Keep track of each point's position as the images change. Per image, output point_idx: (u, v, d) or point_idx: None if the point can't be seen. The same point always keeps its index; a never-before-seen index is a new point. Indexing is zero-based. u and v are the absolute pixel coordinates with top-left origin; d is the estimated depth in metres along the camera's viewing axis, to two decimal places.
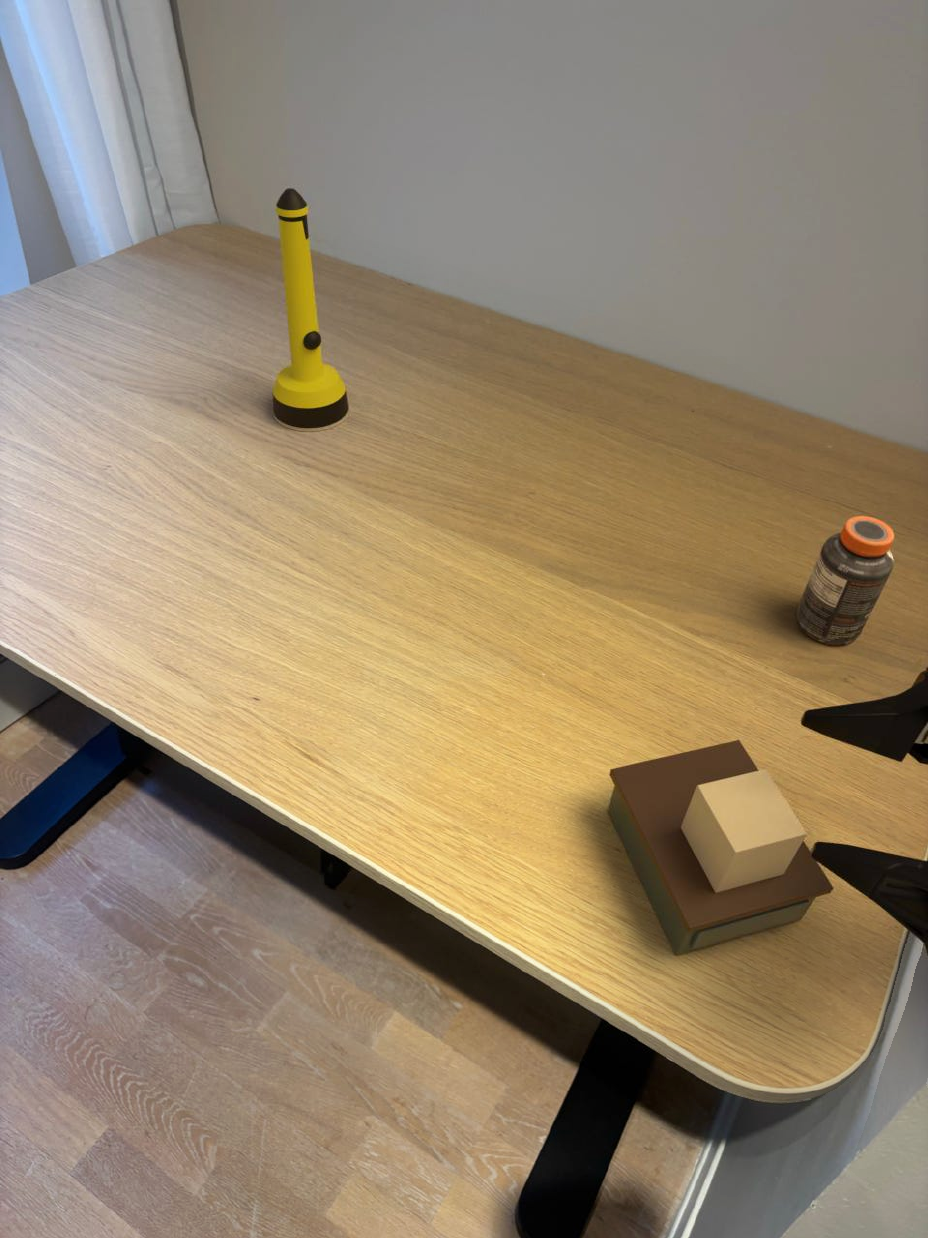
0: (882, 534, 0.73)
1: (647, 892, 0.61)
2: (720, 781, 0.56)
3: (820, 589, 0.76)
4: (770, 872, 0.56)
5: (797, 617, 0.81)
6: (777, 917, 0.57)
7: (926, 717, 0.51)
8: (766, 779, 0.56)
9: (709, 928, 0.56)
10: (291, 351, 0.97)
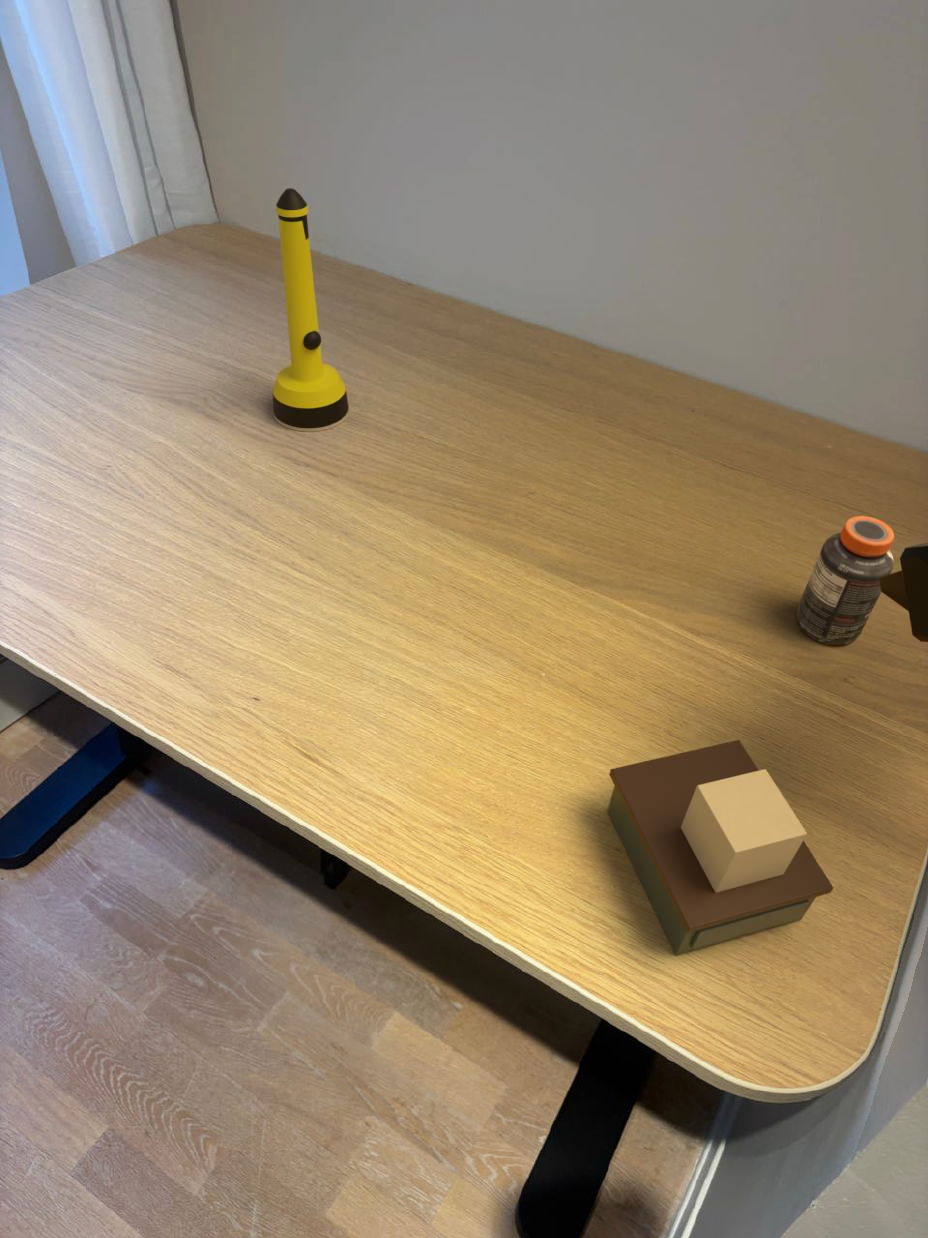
0: (882, 534, 0.73)
1: (647, 892, 0.61)
2: (720, 781, 0.56)
3: (820, 589, 0.76)
4: (770, 872, 0.56)
5: (797, 617, 0.81)
6: (777, 917, 0.57)
7: None
8: (766, 779, 0.56)
9: (709, 928, 0.56)
10: (291, 351, 0.97)
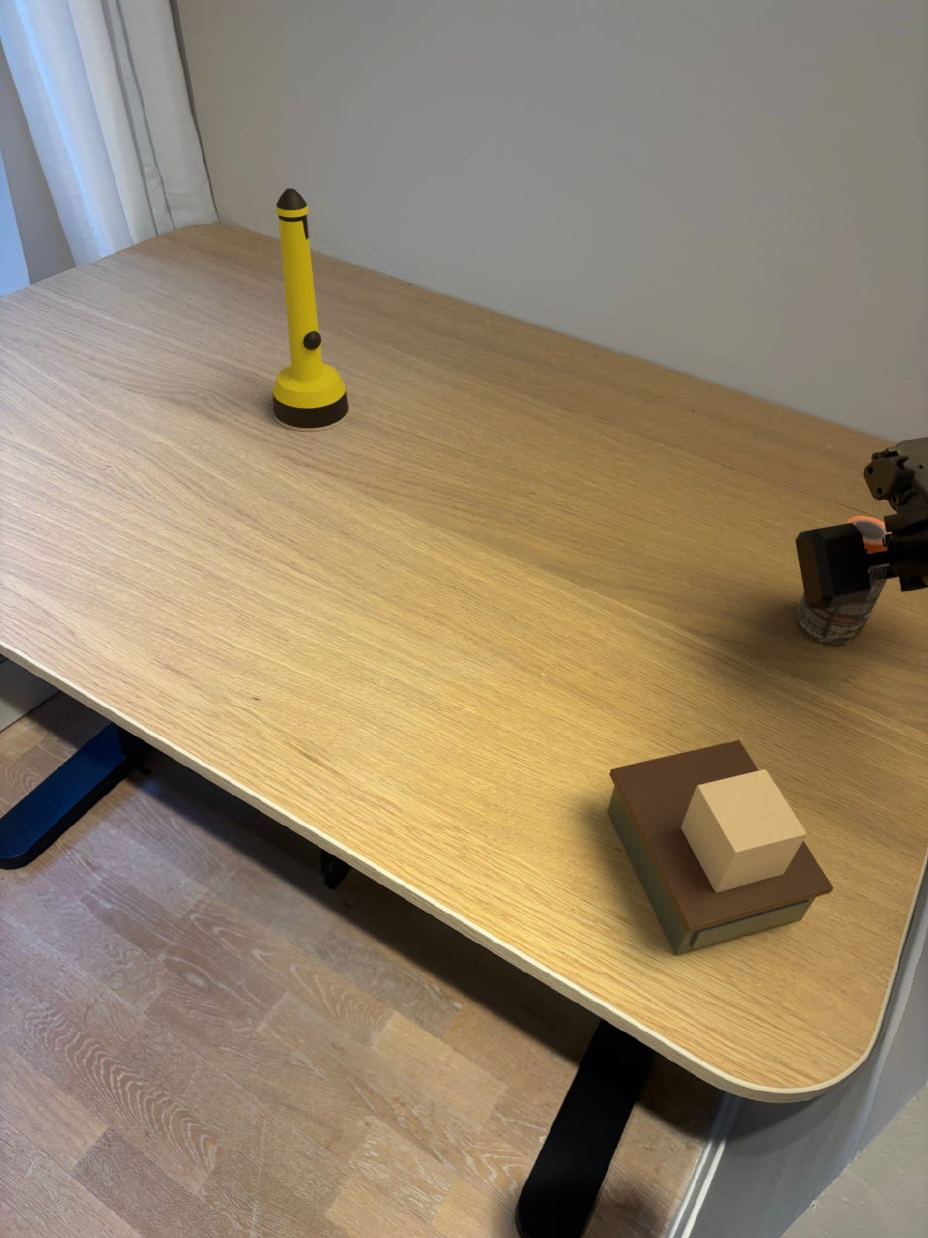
0: (882, 534, 0.73)
1: (647, 892, 0.61)
2: (720, 781, 0.56)
3: None
4: (770, 872, 0.56)
5: (797, 617, 0.81)
6: (777, 917, 0.57)
7: None
8: (766, 779, 0.56)
9: (709, 928, 0.56)
10: (291, 351, 0.97)
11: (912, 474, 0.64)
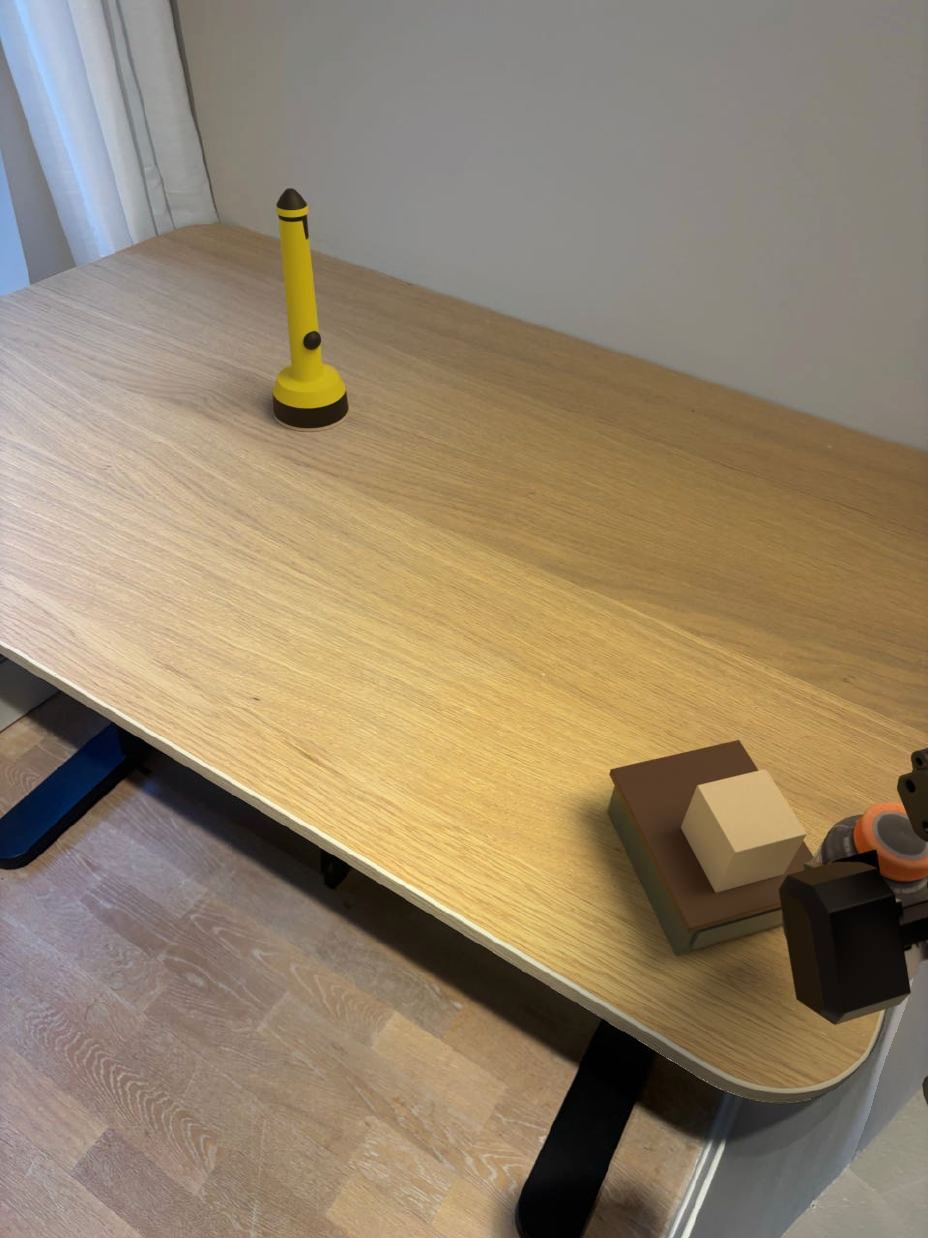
0: (924, 845, 0.44)
1: (647, 892, 0.61)
2: (720, 781, 0.56)
3: None
4: (770, 872, 0.56)
5: None
6: (777, 917, 0.57)
7: None
8: (766, 779, 0.56)
9: (709, 928, 0.56)
10: (291, 351, 0.97)
11: None
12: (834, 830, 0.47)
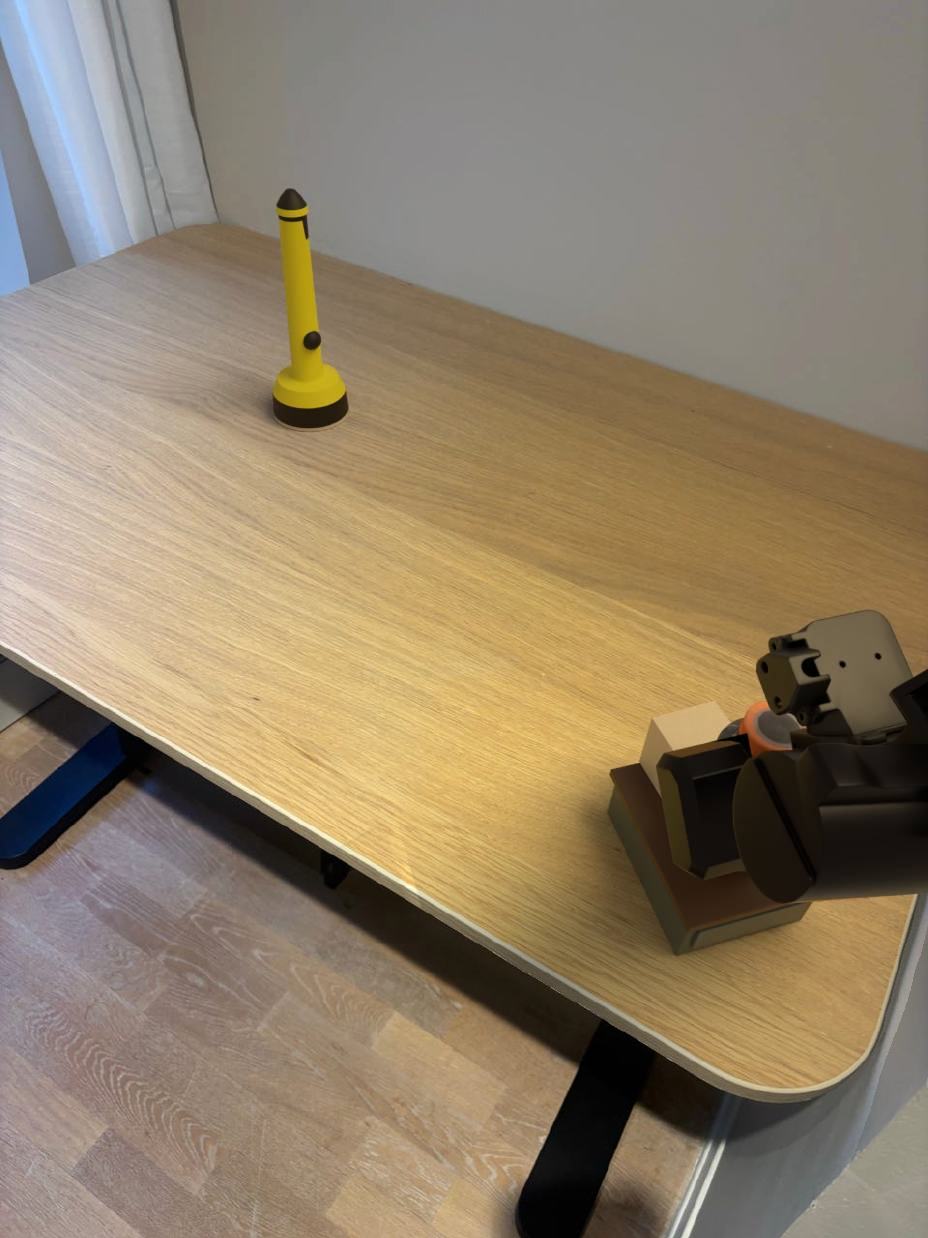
0: None
1: (647, 892, 0.61)
2: (673, 713, 0.60)
3: None
4: None
5: None
6: (777, 917, 0.57)
7: None
8: (715, 709, 0.60)
9: (709, 928, 0.56)
10: (291, 351, 0.97)
11: (826, 682, 0.40)
12: (725, 729, 0.52)
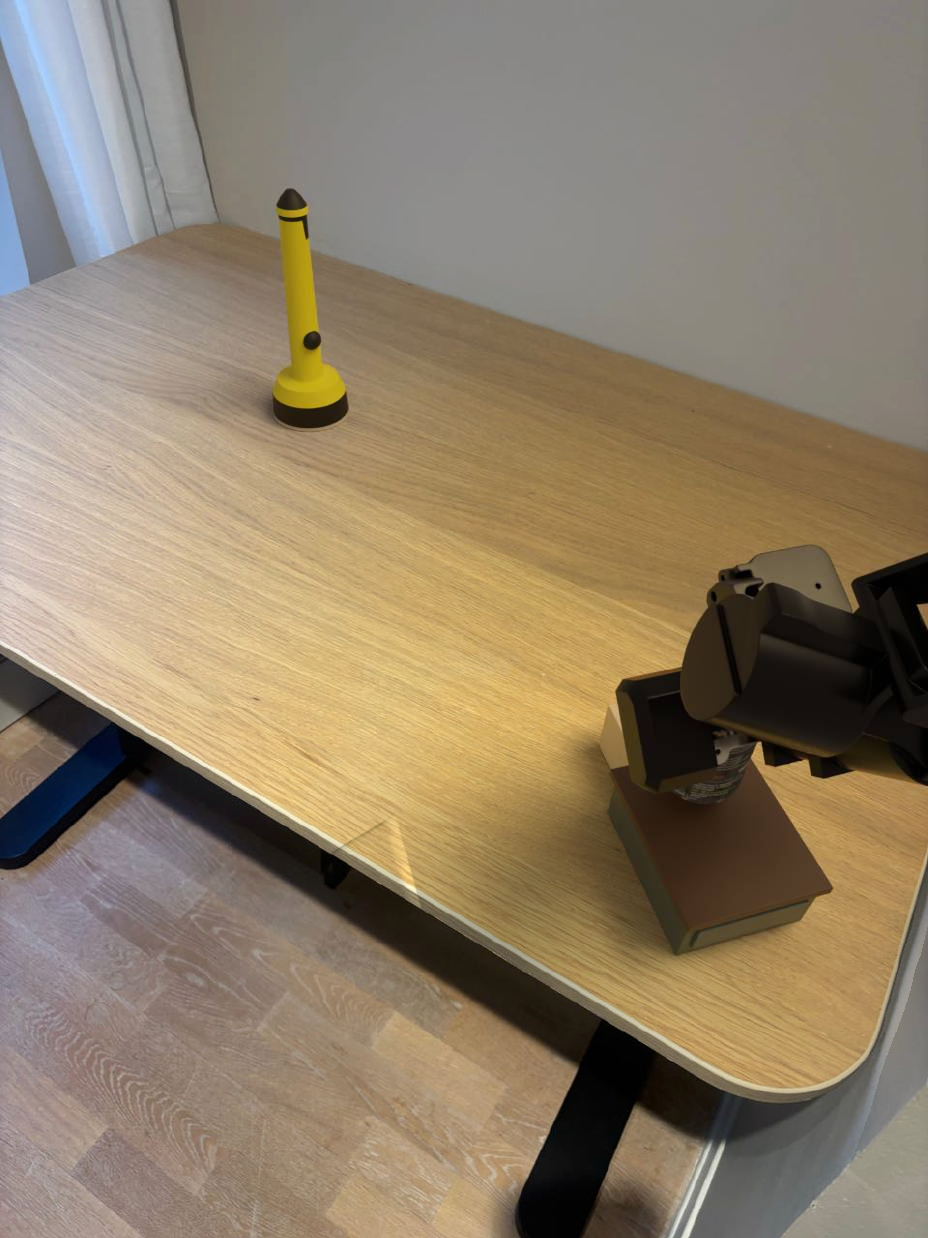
0: None
1: (647, 892, 0.61)
2: None
3: None
4: None
5: None
6: (777, 917, 0.57)
7: None
8: None
9: (709, 928, 0.56)
10: (291, 351, 0.97)
11: None
12: None
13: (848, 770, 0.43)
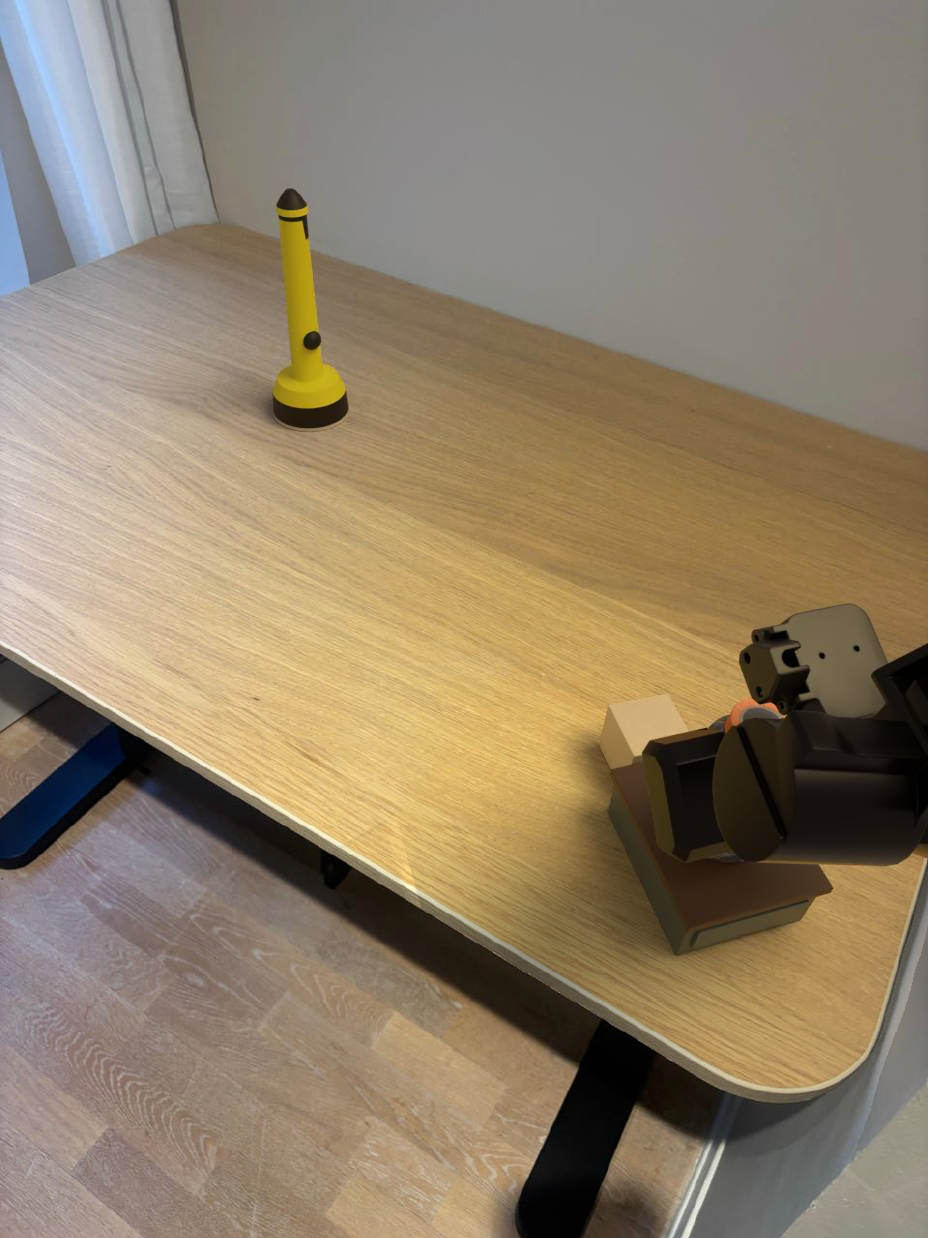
0: None
1: (647, 892, 0.61)
2: None
3: None
4: None
5: None
6: (777, 917, 0.57)
7: None
8: None
9: (709, 928, 0.56)
10: (291, 351, 0.97)
11: (806, 673, 0.42)
12: (712, 725, 0.54)
13: None
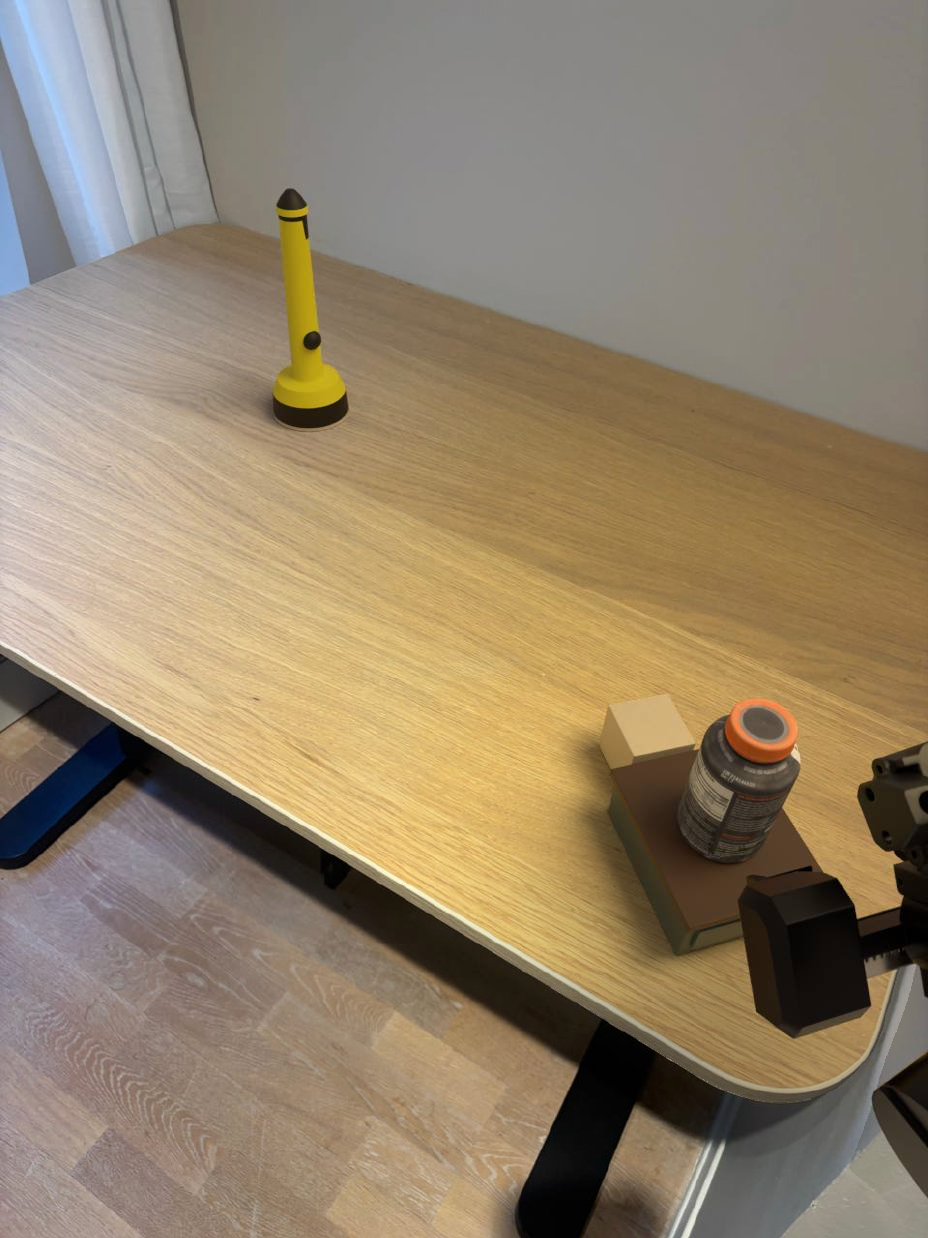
0: (781, 731, 0.51)
1: (647, 892, 0.61)
2: None
3: (701, 795, 0.55)
4: (675, 736, 0.65)
5: (678, 818, 0.59)
6: None
7: None
8: None
9: (709, 928, 0.56)
10: (291, 351, 0.97)
11: None
12: (712, 725, 0.54)
13: None
